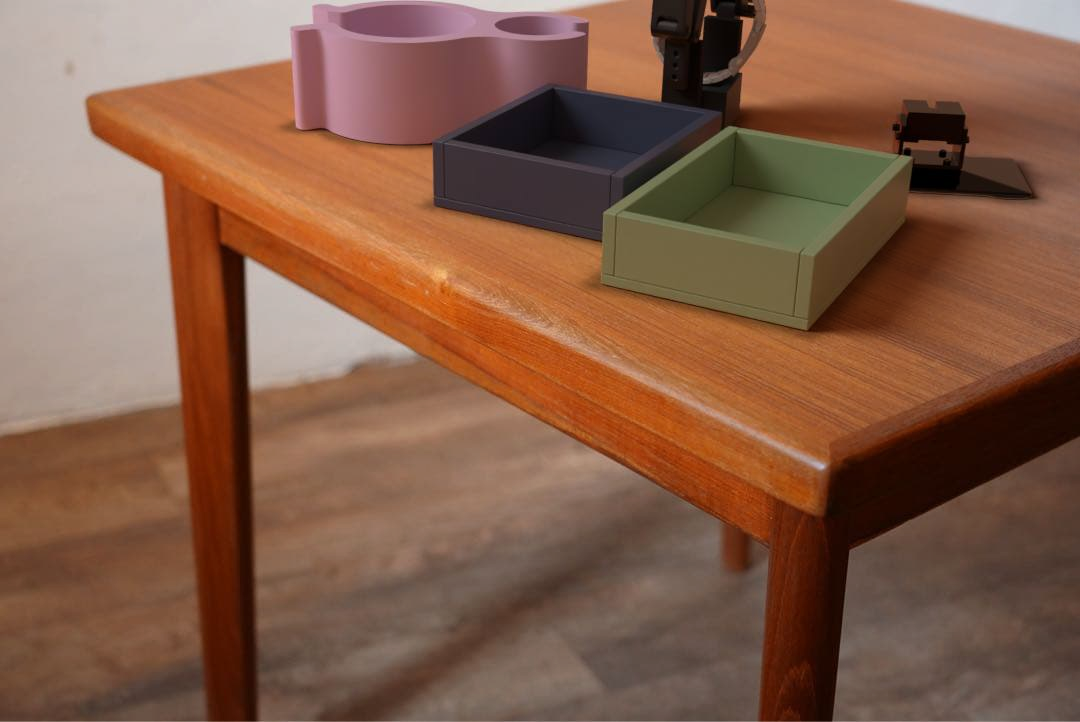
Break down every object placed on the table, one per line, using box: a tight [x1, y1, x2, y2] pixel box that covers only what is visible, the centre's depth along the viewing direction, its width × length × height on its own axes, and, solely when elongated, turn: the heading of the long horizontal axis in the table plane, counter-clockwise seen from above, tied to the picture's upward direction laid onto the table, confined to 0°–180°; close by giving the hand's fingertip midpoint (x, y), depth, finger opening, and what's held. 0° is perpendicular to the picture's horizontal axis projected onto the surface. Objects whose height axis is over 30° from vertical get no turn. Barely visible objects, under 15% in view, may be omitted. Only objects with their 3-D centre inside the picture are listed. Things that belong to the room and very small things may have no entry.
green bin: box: [600, 126, 913, 331], centre depth 81 cm, size 12×18×4 cm, turn 151°
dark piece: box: [879, 99, 1033, 200], centre depth 93 cm, size 12×7×5 cm, turn 84°
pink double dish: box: [289, 0, 590, 145], centre depth 102 cm, size 20×12×7 cm, turn 85°
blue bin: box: [432, 83, 722, 242], centre depth 90 cm, size 13×15×4 cm
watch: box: [648, 0, 767, 131], centre depth 101 cm, size 6×8×11 cm
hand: (698, 118), depth 103 cm, fingers closed on watch, 6 cm apart
